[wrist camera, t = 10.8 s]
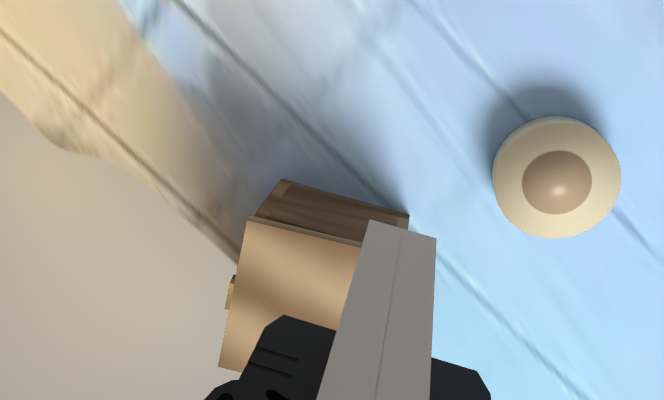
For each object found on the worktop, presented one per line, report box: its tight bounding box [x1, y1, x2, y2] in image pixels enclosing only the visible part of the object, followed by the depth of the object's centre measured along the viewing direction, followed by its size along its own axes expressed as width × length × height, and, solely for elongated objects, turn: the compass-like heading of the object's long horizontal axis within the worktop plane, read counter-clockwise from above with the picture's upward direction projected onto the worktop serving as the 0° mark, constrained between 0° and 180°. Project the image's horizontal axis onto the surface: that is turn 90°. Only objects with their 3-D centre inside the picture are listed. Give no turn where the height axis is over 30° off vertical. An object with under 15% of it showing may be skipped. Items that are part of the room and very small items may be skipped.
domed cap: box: [492, 116, 621, 238], centre depth 42 cm, size 8×8×3 cm
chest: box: [255, 179, 410, 243], centre depth 45 cm, size 11×10×7 cm
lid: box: [218, 215, 363, 372], centre depth 42 cm, size 11×10×1 cm
